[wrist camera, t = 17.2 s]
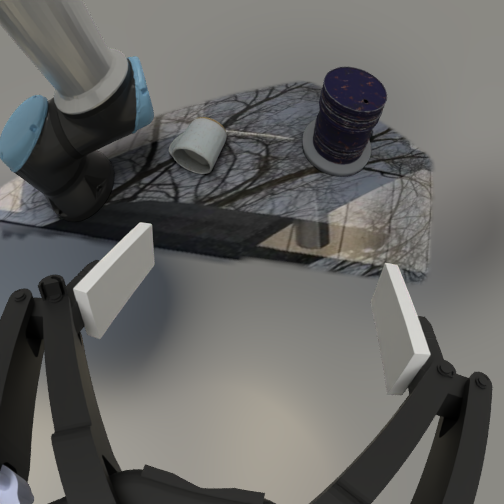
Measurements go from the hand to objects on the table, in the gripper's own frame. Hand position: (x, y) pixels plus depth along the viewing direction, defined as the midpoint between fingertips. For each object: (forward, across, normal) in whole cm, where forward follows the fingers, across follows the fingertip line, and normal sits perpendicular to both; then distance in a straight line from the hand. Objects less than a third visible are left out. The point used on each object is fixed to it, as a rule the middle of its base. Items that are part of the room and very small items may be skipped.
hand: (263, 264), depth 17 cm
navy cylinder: (+44, +8, +1) cm, 44 cm away
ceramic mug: (+40, -17, -5) cm, 44 cm away
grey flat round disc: (+45, +8, 0) cm, 45 cm away
